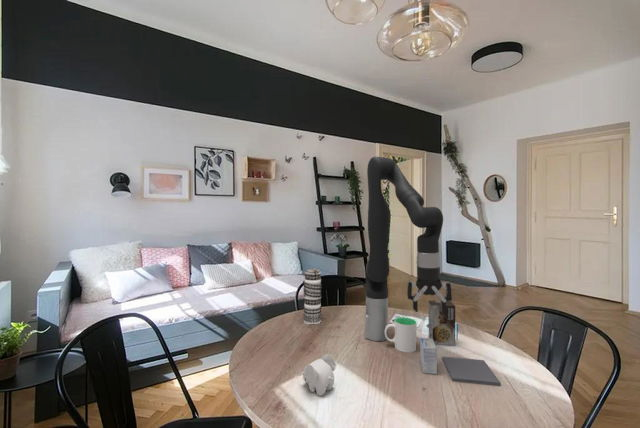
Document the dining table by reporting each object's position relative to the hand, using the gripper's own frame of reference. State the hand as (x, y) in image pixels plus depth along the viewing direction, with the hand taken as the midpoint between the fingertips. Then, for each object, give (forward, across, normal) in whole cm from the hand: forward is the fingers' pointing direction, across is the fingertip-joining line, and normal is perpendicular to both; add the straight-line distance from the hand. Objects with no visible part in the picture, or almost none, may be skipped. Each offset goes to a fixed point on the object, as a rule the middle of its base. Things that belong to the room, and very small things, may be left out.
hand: (429, 311), depth 104 cm
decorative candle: (+17, -50, +30) cm, 60 cm away
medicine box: (+19, -1, -2) cm, 19 cm away
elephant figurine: (+18, -35, -21) cm, 45 cm away
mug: (+19, -10, +12) cm, 24 cm away
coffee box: (+19, +7, +21) cm, 29 cm away
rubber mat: (+19, +12, -1) cm, 23 cm away
